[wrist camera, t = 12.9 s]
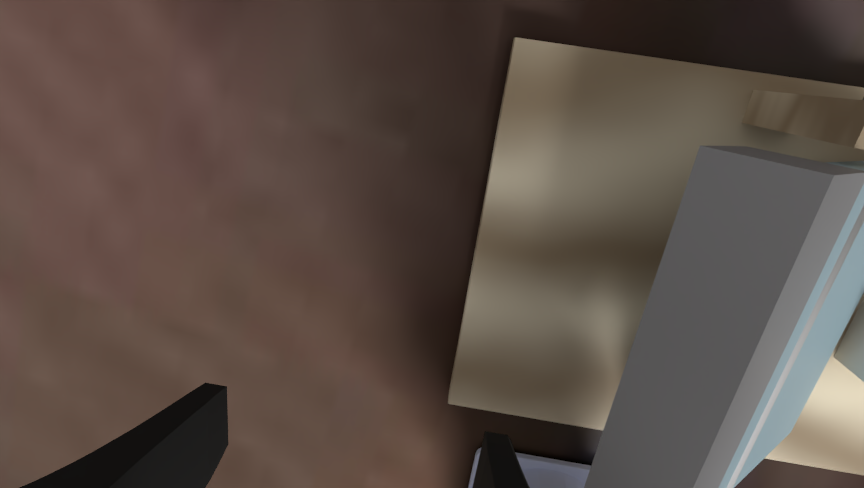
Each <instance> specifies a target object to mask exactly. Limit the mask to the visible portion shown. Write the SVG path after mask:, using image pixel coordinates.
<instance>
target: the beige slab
mask: <svg viewBox="0 0 864 488" xmlns="http://www.w3.org/2000/svg"><path fill="white" fill-rule="evenodd" d="M700 146H747V147H752V148H757V149H762V150H766V151H771V152H776V153H781V154H785V155H790V156H795V157H800V158H805V159H809V160H814V161H819V162H847V161H864V88H862V87H855V86H848V85H842V84H835V83H828V82H821V81H814V80H807V79H800V78H793V77H786V76H779V75H772V74H766V73H759V72H752V71H745V70H738V69H731V68H724V67H717V66H710V65H703V64H696V63H689V62H683V61H676V60H669V59H662V58H655V57H648V56H641V55H634V54H627V53H620V52H613V51H607V50H600V49H593V48H586V47H579V46H572V45H565V44H558V43H551V42H544V41H537V40H531V39H524V38H517V37H515V38H513V43H512V49H511V54H510V60H509V65H508V71H507V76H506V82H505V87H504V93H503V98H502V104H501V109H500V114H499V120H498V125H497V131H496V136H495V142H494V147H493V153H492V158H491V164H490V169H489V175H488V180H487V186H486V191H485V196H484V202H483V207H482V213H481V218H480V224H479V229H478V235H477V240H476V246H475V251H474V257H473V262H472V268H471V273H470V279H469V284H468V289H467V295H466V300H465V306H464V311H463V317H462V322H461V328H460V333H459V339H458V344H457V350H456V355H455V361H454V366H453V371H452V377H451V382H450V388H449V396H448V404H452V405H458V406H463V407H469V408H475V409H481V410H487V411H492V412H498V413H504V414H510V415H516V416H522V417H527V418H533V419H539V420H545V421H551V422H556V423H562V424H568V425H574V426H580V427H585V428H591V429H597V430H604V427H605V424H606V421H607V418H608V415H609V412H610V409H611V406H612V403H613V400H614V397H615V394H616V392H617V389H618V386H619V383H620V380H621V377H622V374H623V371H624V368H625V365H626V362H627V359H628V356H629V353H630V350H631V347H632V344H633V341H634V338H635V336H636V333H637V330H638V327H639V324H640V321H641V318H642V315H643V312H644V309H645V306H646V303H647V300H648V297H649V294H650V291H651V288H652V285H653V282H654V280H655V277H656V274H657V271H658V268H659V265H660V262H661V259H662V256H663V253H664V250H665V247H666V244H667V241H668V238H669V235H670V232H671V229H672V227H673V224H674V221H675V218H676V215H677V212H678V209H679V206H680V203H681V200H682V197H683V194H684V191H685V188H686V185H687V182H688V179H689V176H690V173H691V171H692V168H693V165H694V162H695V159H696V156H697V153H698V150H699V147H700ZM863 299H864V293H863V295H862V297H861V299H860V301H859V303H858V305H857V307H856V308H855V310H854V312H853V314H852V316H851V318H850V320H849V322H848V324H847V326H846V328H845V330H844V331H843V333H842V335H841V337H840V339H839V341H838V343H837V345H836V347H835V349H834V351H833V353H832V354H831V356H830V358H829V360H828V362H827V364H826V366H825V368H824V370H823V372H822V374H821V375H820V377H819V379H818V381H817V383H816V385H815V387H814V389H813V391H812V393H811V395H810V397H809V398H808V400H807V402H806V404H805V406H804V408H803V410H802V412H801V414H800V416H799V418H798V420H797V421H796V423H795V425H794V427H793V429H792V431H791V433H790V434H789V435H788V436H787V437H785V438H784V439H783V440H782V441H781V442H780V443H779V444H778V445H777V446H776V447H775V448H774V449H773V450H772V451H771V452H770V453H769V454H768V455H767V456H766V457H765V458H766V459H771V460H777V461H783V462H789V463H795V464H801V465H806V466H812V467H818V468H824V469H830V470H835V471H841V472H847V473H853V474H859V475H864V382H863V381H862V380H861V379H859V378H858V377H857V376H856V375H855V374H853V373H852V372H851V371H850V370H849V369H847V368H846V367H845V366H844V365H843V364H841V363H840V362H839V361H838V360H836V359H835V358H834V355H835V353H836V351H837V349H838V347H839V346H840V344H841V342H842V340H843V338H844V336H845V334H846V332H847V330H848V328H849V326H850V324H851V322H852V320H853V318H854V316H855V314H856V312H857V310H858V308H859V306H860V304H861V302H862V301H863Z"/></svg>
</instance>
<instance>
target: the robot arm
mask: <svg viewBox="0 0 864 488" xmlns="http://www.w3.org/2000/svg"><path fill="white" fill-rule="evenodd" d="M227 445H228V416H227V387H226V386H221V385H215V384H209V383H204V384H203V385H201V386H200V387H198V388H196V389H195V390H193V391H192V392H190V393H189V394H187V395H185V396H184V397H182V398H181V399H179V400H178V401H176V402H175V403H173V404H172V405H170V406H169V407H167V408H165V409H164V410H162V411H161V412H159V413H158V414H156V415H154V416H153V417H151V418H150V419H148V420H146V421H145V422H143V423H142V424H140V425H138V426H137V427H135V428H134V429H132V430H130V431H129V432H127V433H125V434H123V435H122V436H120V437H118V438H116V439H115V440H113V441H111V442H109V443H108V444H106V445H104V446H103V447H101V448H99V449H97V450H96V451H94V452H92V453H90V454H88V455H86V456H85V457H83V458H81V459H79V460H77V461H75V462H73V463H71V464H69V465H67V466H65V467H63V468H61V469H59V470H57V471H55V472H53V473H51V474H49V475H47V476H45V477H43V478H40V479H38V480H36V481H34V482H32V483H29V484H27V485H25V486H22V487H20V488H205V487H206V485H207V484H208V482H209V481H210V479H211V477H212V475H213V473H214V471H215V469H216V468H217V466H218V464H219V462H220V460H221V458H222V456H223V454H224V451H225V449H226V447H227ZM590 468H591V466H590V465H585V464H579V463H573V462H568V461H562V460H556V459H550V458H545V457H539V456H533V455H528V454H522V453H516V452H515V451H514V448H513V445H512V442H511V439H510V438H509V437H508V435H503V434H497V433H492V432H486V431H485V434H484V438H483V443H482V447H481V448H479V449H478V450H477V451H476V453H475V458H474V463H473V467H472V472H471V476H470V481H469V485H468V488H584V486H585V483H586V480H587V477H588V474H589V471H590Z"/></svg>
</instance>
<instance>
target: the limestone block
mask: <svg viewBox="0 0 864 488" xmlns="http://www.w3.org/2000/svg"><path fill="white" fill-rule="evenodd" d="M834 358H835V359H836V360H838V361H839V362H840V363H841V364H843V365H844V366H845V367H846V368H847V369H849V370H850V371H851V372H852V373H853V374H855V375H856V376H857V377H858V378H859V379H861V380H862V381H863V382H864V299H863V301H862V302H861V304H860V306H859V308H858V310H857V312H856V314H855V316H854V318H853V320H852V322H851V324H850V326H849V328H848V330H847V332H846V334H845V336H844V338H843V340H842V342H841V344H840V346H839V347H838V349H837V351H836V353H835V355H834Z"/></svg>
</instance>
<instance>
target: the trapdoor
mask: <svg viewBox="0 0 864 488" xmlns="http://www.w3.org/2000/svg"><path fill="white" fill-rule="evenodd" d="M863 293H864V161H847V162H819V161H814V160H809V159H805V158H800V157H795V156H790V155H785V154H781V153H776V152H771V151H766V150H762V149H757V148H752V147H747V146H700V147H699V150H698V153H697V156H696V159H695V162H694V165H693V168H692V171H691V173H690V176H689V179H688V182H687V185H686V188H685V191H684V194H683V197H682V200H681V203H680V206H679V209H678V212H677V215H676V218H675V221H674V224H673V227H672V229H671V232H670V235H669V238H668V241H667V244H666V247H665V250H664V253H663V256H662V259H661V262H660V265H659V268H658V271H657V274H656V277H655V280H654V282H653V285H652V288H651V291H650V294H649V297H648V300H647V303H646V306H645V309H644V312H643V315H642V318H641V321H640V324H639V327H638V330H637V333H636V336H635V338H634V341H633V344H632V347H631V350H630V353H629V356H628V359H627V362H626V365H625V368H624V371H623V374H622V377H621V380H620V383H619V386H618V389H617V392H616V394H615V397H614V400H613V403H612V406H611V409H610V412H609V415H608V418H607V421H606V424H605V427H604V430H603V433H602V436H601V439H600V442H599V445H598V448H597V450H596V453H595V456H594V459H593V462H592V465H591V468H590V471H589V474H588V477H587V480H586V483H585V486H584V488H734V487H735V486H736V485H737V484H738V483H739V482H740V481H741V480H742V479H743V478H744V477H745V476H746V475H748V474H749V473H750V472H751V471H752V470H753V469H754V468H755V467H756V466H757V465H758V464H759V463H760V462H761V461H762V460H763V459H764V458H765V457H766V456H767V455H768V454H769V453H770V452H771V451H772V450H773V449H774V448H775V447H776V446H777V445H778V444H779V443H780V442H781V441H782V440H783V439H784V438H785V437H787V436H788V435H789V434H790V433H791V431H792V429H793V427H794V425H795V423H796V421H797V420H798V418H799V416H800V414H801V412H802V410H803V408H804V406H805V404H806V402H807V400H808V398H809V397H810V395H811V393H812V391H813V389H814V387H815V385H816V383H817V381H818V379H819V377H820V375H821V374H822V372H823V370H824V368H825V366H826V364H827V362H828V360H829V358H830V356H831V354H832V353H833V351H834V349H835V347H836V345H837V343H838V341H839V339H840V337H841V335H842V333H843V331H844V330H845V328H846V326H847V324H848V322H849V320H850V318H851V316H852V314H853V312H854V310H855V308H856V307H857V305H858V303H859V301H860V299H861V297H862V295H863Z"/></svg>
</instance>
